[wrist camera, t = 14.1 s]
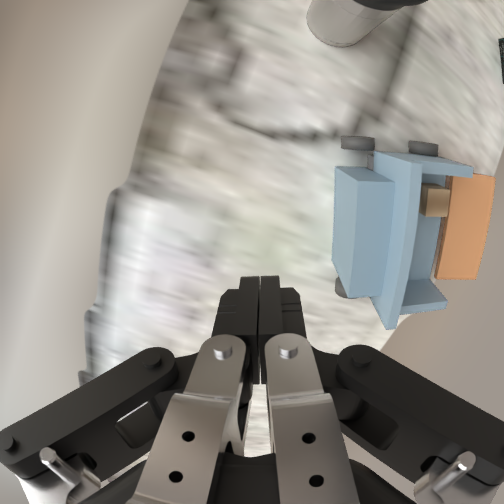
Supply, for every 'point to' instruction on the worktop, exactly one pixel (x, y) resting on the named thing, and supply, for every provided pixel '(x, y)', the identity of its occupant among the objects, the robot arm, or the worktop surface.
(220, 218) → the worktop surface
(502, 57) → the tampon box
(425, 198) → the block
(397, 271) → the pickup bed
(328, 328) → the worktop surface
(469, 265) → the panel
